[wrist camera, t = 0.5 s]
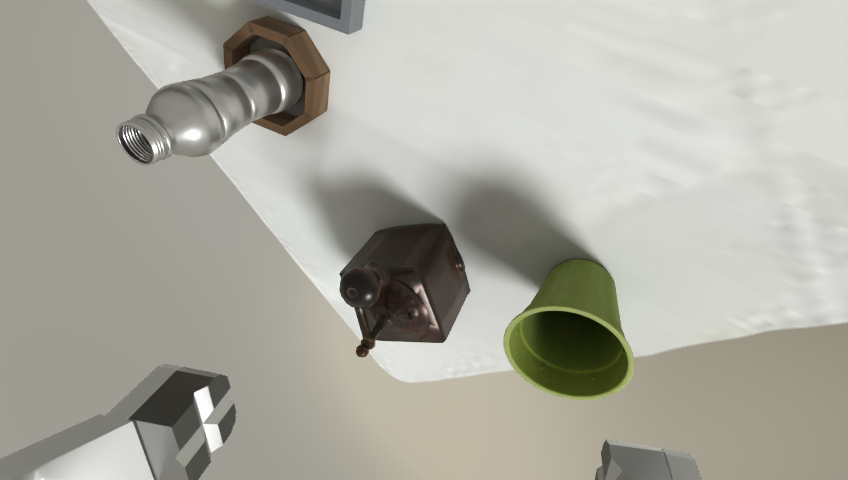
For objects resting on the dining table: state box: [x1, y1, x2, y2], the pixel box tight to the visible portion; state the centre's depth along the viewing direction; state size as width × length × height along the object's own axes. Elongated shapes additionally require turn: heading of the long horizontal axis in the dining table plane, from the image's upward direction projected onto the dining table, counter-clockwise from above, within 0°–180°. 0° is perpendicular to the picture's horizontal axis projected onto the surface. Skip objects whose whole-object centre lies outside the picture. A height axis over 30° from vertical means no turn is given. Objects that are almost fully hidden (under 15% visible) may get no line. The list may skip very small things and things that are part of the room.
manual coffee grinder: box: [340, 224, 470, 357], centre depth 52 cm, size 16×11×18 cm
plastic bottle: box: [116, 48, 303, 165], centre depth 45 cm, size 6×7×20 cm
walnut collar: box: [223, 16, 330, 136], centre depth 51 cm, size 11×11×3 cm
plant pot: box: [504, 259, 634, 400], centre depth 49 cm, size 12×12×11 cm
